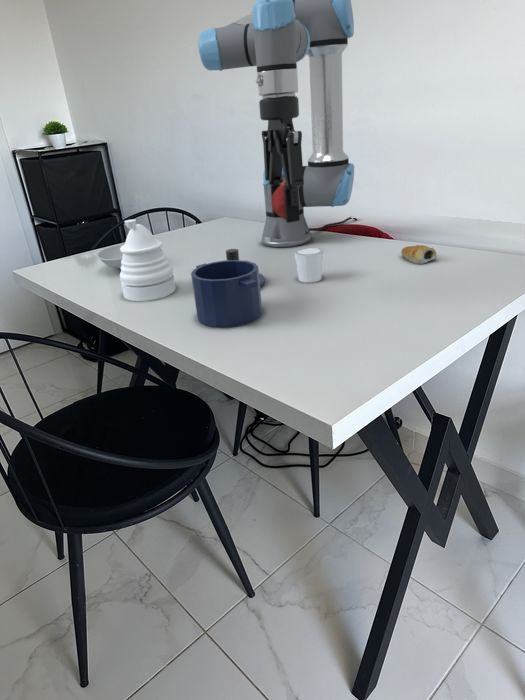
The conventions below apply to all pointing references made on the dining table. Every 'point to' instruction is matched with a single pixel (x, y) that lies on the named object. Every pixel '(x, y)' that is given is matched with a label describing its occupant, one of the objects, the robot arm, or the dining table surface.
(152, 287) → the honey pot
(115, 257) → the dish
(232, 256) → the lid
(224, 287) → the pot
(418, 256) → the pastry
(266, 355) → the dining table surface
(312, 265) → the white tapered cylinder
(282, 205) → the onion
